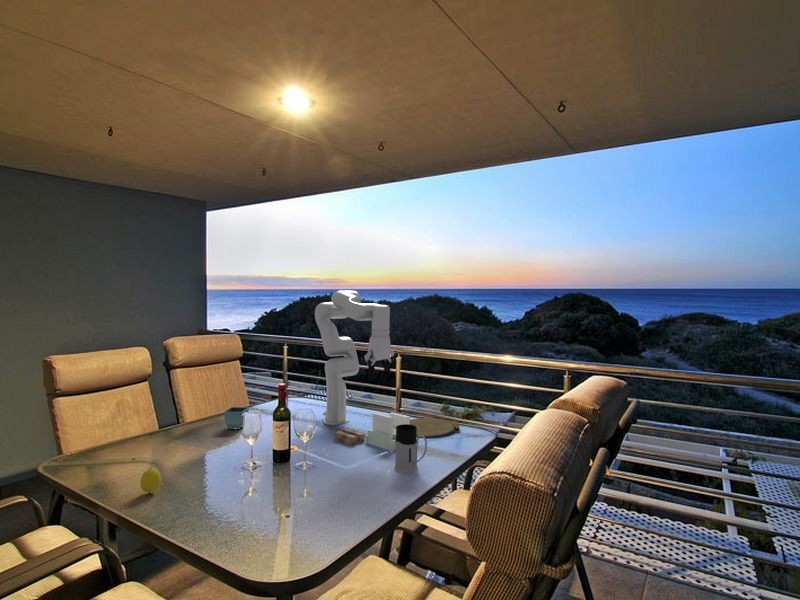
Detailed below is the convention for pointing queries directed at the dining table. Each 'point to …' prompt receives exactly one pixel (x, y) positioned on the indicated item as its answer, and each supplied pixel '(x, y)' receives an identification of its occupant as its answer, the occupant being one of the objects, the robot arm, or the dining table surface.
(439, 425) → the decorative disc
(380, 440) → the rack
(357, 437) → the stand
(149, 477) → the lemon
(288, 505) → the dining table surface
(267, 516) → the dining table surface
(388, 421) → the tall white panel
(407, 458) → the grey black mug
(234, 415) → the flower pot
